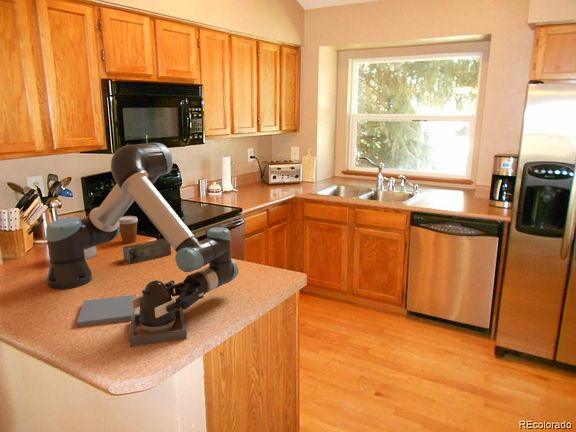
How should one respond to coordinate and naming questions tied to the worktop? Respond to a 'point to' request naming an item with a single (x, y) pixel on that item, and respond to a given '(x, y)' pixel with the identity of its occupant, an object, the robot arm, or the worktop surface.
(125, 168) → the robot arm
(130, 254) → the beverage carton
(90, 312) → the slate-blue board
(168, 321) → the dark brown egg shape
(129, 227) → the disposable coffee cup
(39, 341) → the worktop surface
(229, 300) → the worktop surface
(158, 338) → the gray open frame
